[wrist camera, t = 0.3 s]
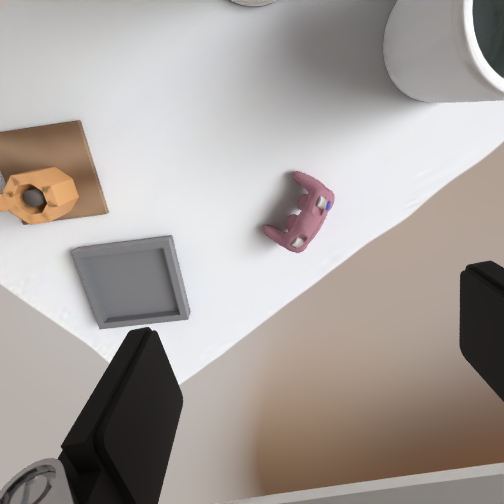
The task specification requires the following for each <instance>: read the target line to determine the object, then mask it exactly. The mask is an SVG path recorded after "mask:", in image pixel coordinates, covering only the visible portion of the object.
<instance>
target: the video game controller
mask: <svg viewBox="0 0 504 504" xmlns="http://www.w3.org/2000/svg"><path fill="white" fill-rule="evenodd" d="M292 175H293V178H294V179H295V180H296V181H297V182H298V183H299V184H301V185H302V186H303V187H304V188H305V189H306V190H307V191H308V192H309V194H304V195H302V196H301V197H300V199H299V201H298V208H299V209H300V210H302V211H301V212H300V214H299V215H298V216H297V215H295V214H293V215H291V216H290V217H289V218H288V220H287V224H286V225H287V229H288V232H287V233H286V232H282V231H280V230H278V229H276V228H274V227H271V226H268V225H265V226H263V231H264V233H265V234H266V235H267V236H269V237H270V238H271V239H273V240H274V241H275V242H276V243H278V244H279V245H281V246H283V247H284V248H286V249H288V250H289V251H292V252H296V253H300V252H302V251H304V250H305V249H306V247H307V245H308V244H309V243H310V241H311V240H312V239H313V238H314V237H315V235H316V234H317V233H318V231H319V230H320V228H321V226H322V224H323V222H324V220H325V218H326V216H327V213H328V211H329V210H330V209H331V208H332V206H333V203H334V194H333V192H332V191H331V190H329V189H327V188H326V187H325V186H324V185H323V184H322V183H321V182H320V181H318V180H317V179H315V178H313V177H311V176H309V175H307V174H305V173H302V172H299V171H295V172H293V173H292Z"/></svg>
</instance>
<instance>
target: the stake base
mask: <svg viewBox="0 0 504 504" xmlns="http://www.w3.org/2000/svg"><path fill="white" fill-rule="evenodd" d="M51 167H56V168H58V169H59V170H61V171H62V172H63V173H65V174H66V175H68V176H69V177H71V178H72V179H73V181H74V184H75V187H76V190H77V193H78V196H79V198H78V199H77V201H76V203H75V205H74V206H73V208H72V210H71V211H70V212H68V213H66V214H65V215H63V216H61V217H59V218H57V219H55V220H53V221H56V220H64V219H71V218H79V217H87V216H94V215H102V214H107V213H109V211H108V208H107V205H106V201H105V198H104V195H103V192H102V188H101V185H100V182H99V179H98V175H97V172H96V169H95V166H94V162H93V159H92V156H91V153H90V150H89V146H88V143H87V140H86V137H85V133H84V130H83V127H82V124H81V121H72V122H65V123H58V124H51V125H45V126H38V127H31V128H25V129H18V130H11V131H4V132H0V170H1V172H2V175H3V177H4V179H5V182H6V184H7V182H8V180H9V178H10V176H11V175H15V174H19V173H24V172H28V171H32V170H36V169H44V168H51ZM23 200H24V202H25V203H26V204H27V205H28V206H30V207H37V206H39V205H42V204H44V203H47V202H46V199H45V196H44V194H43V191H41V190H40V189H38V188H35V189H32V190H29V191H26V192H25V193H24V195H23ZM21 220H22V219H21ZM22 223H23V225H26V224H29V223H27V222H25V221H24V220H22Z"/></svg>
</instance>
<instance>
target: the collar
mask: <svg viewBox="0 0 504 504" xmlns="http://www.w3.org/2000/svg"><path fill="white" fill-rule="evenodd" d="M35 188H38V189H40V190H41V191H43V194H44V196H45V199H46V202H47V203H44V204H42V205H39V206H37V207H30V206H28V205H27V204H26V203H25V202H24V200H23V195H24V193H25V192H26V191H29V190H32V189H35ZM2 193H3V194H0V212H2V211H11V213H12V214H14V215H16V216H17V217H19V218H21V219H22V220H24V221H25V222H27V223H29V224H30V225H31V224H38V223H46V222H51V221H53V220H55V219H57V218H59V217H61V216H63V215H65V214H66V213H68V212H70V211H71V210H72V208H73V206H74V205H75V203H76V201H77V199H78V198H79V196H78V193H77V190H76V187H75V184H74V181H73V179H72V178H71V177H69V176H68V175H66V174H65V173H63V172H62V171H61V170H59V169H58V168H56V167H51V168H44V169H36V170H32V171H28V172H24V173H19V174H15V175H11V176H10V178H9V180H8V182H7V184H6V186H5V188H4V190H3V192H2Z"/></svg>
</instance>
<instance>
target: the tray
mask: <svg viewBox="0 0 504 504" xmlns="http://www.w3.org/2000/svg"><path fill="white" fill-rule="evenodd" d="M71 253H72V256H73V259H74V261H75V264H76V267H77V269H78V272H79V275H80V278H81V280H82V283H83V286H84V288H85V291H86V294H87V296H88V299H89V302H90V305H91V307H92V310H93V313H94V315H95V318H96V321H97V323H98V326H99V329H107V328H116V327H125V326H134V325H143V324H152V323H161V322H170V321H179V320H188V318H189V315H190V308H189V304H188V300H187V296H186V292H185V287H184V283H183V279H182V275H181V271H180V267H179V262H178V258H177V254H176V250H175V246H174V241H173V237H172V236H164V237H156V238H148V239H140V240H132V241H124V242H116V243H108V244H100V245H92V246H84V247H78V248H77V249H75V250H74V251H73V252H71Z"/></svg>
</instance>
